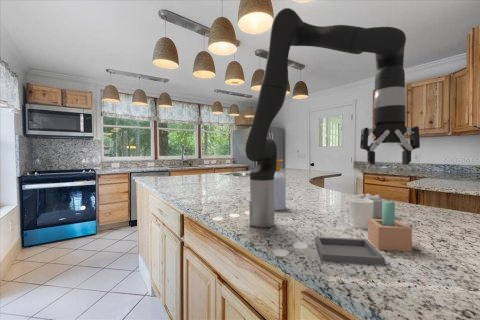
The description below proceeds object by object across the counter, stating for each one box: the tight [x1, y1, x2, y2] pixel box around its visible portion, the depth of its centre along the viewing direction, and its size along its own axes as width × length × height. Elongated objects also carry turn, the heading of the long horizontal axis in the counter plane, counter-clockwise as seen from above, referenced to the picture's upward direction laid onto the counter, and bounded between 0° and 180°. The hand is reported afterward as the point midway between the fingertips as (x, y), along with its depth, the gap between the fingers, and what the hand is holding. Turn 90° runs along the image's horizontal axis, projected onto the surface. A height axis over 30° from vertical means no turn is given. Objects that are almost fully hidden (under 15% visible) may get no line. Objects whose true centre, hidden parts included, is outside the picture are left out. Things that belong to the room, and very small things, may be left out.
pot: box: [367, 218, 413, 252], centre depth 66 cm, size 8×8×7 cm
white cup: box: [348, 197, 374, 230], centre depth 83 cm, size 8×8×10 cm
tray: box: [314, 236, 386, 266], centre depth 62 cm, size 14×12×2 cm
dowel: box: [382, 200, 396, 226], centre depth 66 cm, size 3×3×12 cm
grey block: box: [354, 193, 386, 219], centre depth 101 cm, size 10×13×9 cm
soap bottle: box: [274, 159, 287, 212], centre depth 113 cm, size 9×9×24 cm
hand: (388, 164), depth 66 cm, fingers open, 8 cm apart
